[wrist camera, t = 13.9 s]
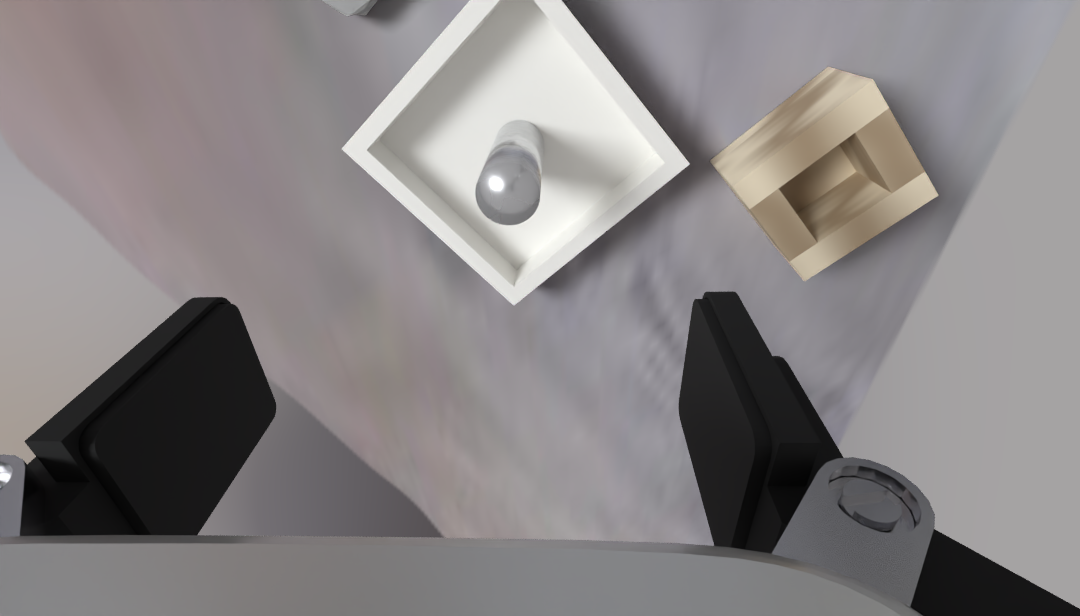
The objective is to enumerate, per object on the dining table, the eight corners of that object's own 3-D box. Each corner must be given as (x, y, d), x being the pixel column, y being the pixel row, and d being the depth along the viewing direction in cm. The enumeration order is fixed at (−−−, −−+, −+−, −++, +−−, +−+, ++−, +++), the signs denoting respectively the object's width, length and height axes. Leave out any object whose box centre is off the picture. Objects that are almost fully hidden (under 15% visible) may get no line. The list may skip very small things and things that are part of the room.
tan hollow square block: (828, 66, 30) (873, 79, 26) (889, 168, 33) (938, 195, 29) (709, 160, 33) (732, 186, 29) (775, 246, 36) (804, 281, 32)
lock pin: (520, 108, 31) (508, 148, 23) (554, 146, 32) (553, 197, 24) (484, 143, 32) (461, 192, 24) (518, 179, 33) (507, 237, 25)
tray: (522, -51, 28) (517, -56, 25) (677, 148, 33) (689, 164, 30) (361, 134, 33) (341, 149, 30) (517, 280, 38) (513, 305, 35)
